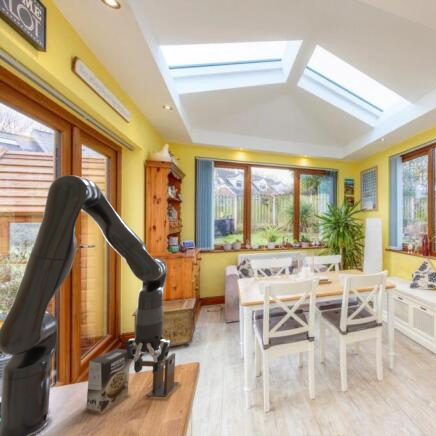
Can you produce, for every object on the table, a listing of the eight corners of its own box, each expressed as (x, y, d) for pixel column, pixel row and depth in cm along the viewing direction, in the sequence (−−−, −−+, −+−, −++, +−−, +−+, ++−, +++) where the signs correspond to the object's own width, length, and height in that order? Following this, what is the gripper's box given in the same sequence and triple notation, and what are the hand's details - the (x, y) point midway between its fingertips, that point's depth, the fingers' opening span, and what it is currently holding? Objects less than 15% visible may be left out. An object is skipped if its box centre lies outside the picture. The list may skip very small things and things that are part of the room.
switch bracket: (165, 399, 90) (167, 362, 90) (145, 398, 90) (147, 361, 90) (179, 385, 98) (180, 351, 98) (160, 384, 98) (162, 350, 98)
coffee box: (101, 415, 82) (104, 363, 82) (85, 411, 83) (88, 360, 83) (129, 396, 90) (131, 350, 91) (114, 393, 92) (116, 347, 92)
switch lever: (152, 368, 83) (155, 359, 84) (137, 367, 83) (139, 359, 84) (172, 364, 94) (174, 357, 95) (159, 364, 94) (161, 356, 95)
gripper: (118, 323, 81) (116, 377, 81) (164, 325, 81) (161, 379, 81) (136, 314, 89) (134, 364, 88) (178, 316, 88) (175, 366, 88)
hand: (147, 371), depth 85 cm, fingers closed on switch lever, 5 cm apart
